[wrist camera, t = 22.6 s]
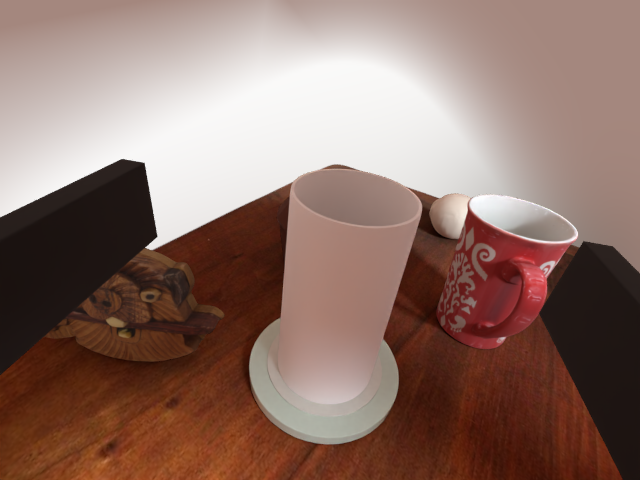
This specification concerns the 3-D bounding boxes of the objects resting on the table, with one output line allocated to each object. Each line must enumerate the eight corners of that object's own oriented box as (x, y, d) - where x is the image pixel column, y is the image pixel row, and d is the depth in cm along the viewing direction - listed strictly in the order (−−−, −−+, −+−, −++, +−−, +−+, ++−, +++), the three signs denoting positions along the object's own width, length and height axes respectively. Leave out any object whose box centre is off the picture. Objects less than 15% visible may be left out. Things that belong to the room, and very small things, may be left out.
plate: (390, 325, 36) (392, 317, 35) (404, 458, 25) (408, 450, 24) (267, 306, 36) (268, 298, 36) (228, 429, 25) (227, 421, 25)
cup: (297, 314, 34) (314, 160, 26) (378, 340, 33) (425, 184, 24) (261, 383, 27) (267, 205, 19) (361, 420, 26) (418, 243, 17)
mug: (426, 286, 42) (463, 185, 35) (503, 306, 41) (559, 204, 34) (427, 371, 32) (481, 251, 24) (531, 400, 30) (620, 283, 23)
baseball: (436, 218, 58) (449, 181, 54) (477, 238, 54) (494, 200, 50) (415, 230, 54) (427, 191, 50) (457, 252, 50) (474, 211, 46)
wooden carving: (13, 361, 28) (-43, 262, 22) (51, 319, 32) (12, 226, 26) (217, 379, 29) (211, 288, 23) (231, 336, 32) (228, 249, 27)
